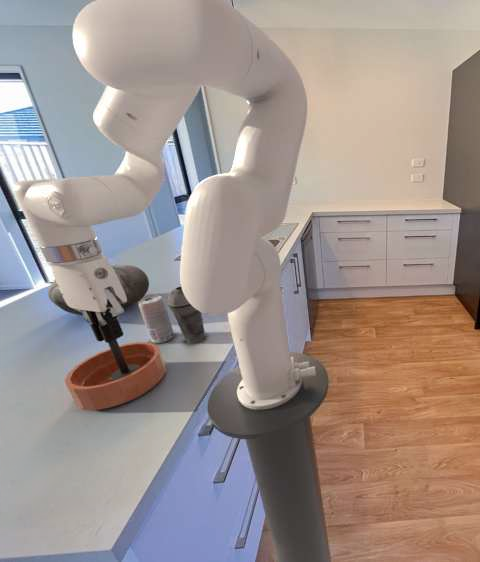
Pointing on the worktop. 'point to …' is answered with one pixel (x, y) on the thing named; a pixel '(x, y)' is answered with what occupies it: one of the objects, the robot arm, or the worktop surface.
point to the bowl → (102, 392)
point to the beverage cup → (186, 316)
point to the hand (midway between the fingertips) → (110, 337)
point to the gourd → (129, 278)
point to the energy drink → (156, 319)
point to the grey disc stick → (120, 362)
